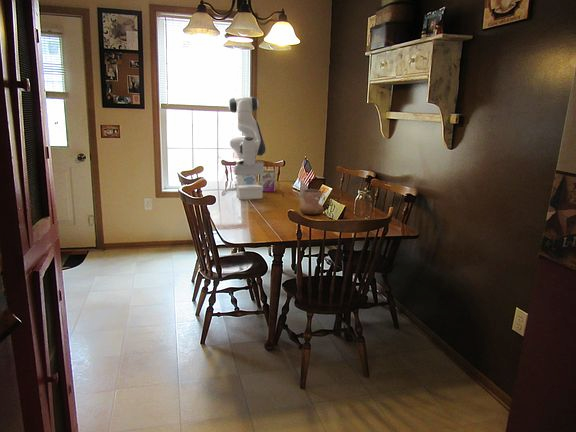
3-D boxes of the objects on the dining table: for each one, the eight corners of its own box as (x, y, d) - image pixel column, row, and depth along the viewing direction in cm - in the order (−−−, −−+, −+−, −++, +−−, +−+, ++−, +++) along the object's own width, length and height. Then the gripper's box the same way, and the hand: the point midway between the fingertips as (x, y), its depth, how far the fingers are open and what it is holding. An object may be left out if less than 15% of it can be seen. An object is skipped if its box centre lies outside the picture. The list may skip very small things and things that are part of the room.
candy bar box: (259, 191, 330) (259, 169, 326) (260, 190, 335) (260, 168, 331) (274, 192, 329) (274, 170, 325) (275, 190, 334) (275, 169, 330)
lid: (235, 188, 311) (235, 185, 310) (258, 187, 316) (258, 184, 315) (239, 191, 299) (239, 188, 298) (263, 190, 303) (263, 187, 303)
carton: (236, 196, 312) (236, 186, 311) (258, 195, 317) (258, 185, 315) (239, 200, 301) (239, 190, 300) (262, 198, 306) (262, 189, 304)
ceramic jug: (328, 216, 262) (328, 192, 259) (305, 217, 258) (305, 193, 254) (316, 209, 279) (317, 187, 275) (294, 211, 274) (295, 188, 271)
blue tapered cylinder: (244, 183, 308) (244, 176, 307) (251, 183, 310) (251, 175, 308) (246, 184, 303) (246, 177, 302) (253, 184, 305) (253, 176, 304)
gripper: (262, 160, 309) (262, 180, 312) (233, 161, 303) (233, 181, 306) (264, 161, 303) (264, 181, 306) (235, 162, 297) (235, 182, 300)
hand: (249, 181), depth 306 cm, fingers closed on blue tapered cylinder, 5 cm apart
